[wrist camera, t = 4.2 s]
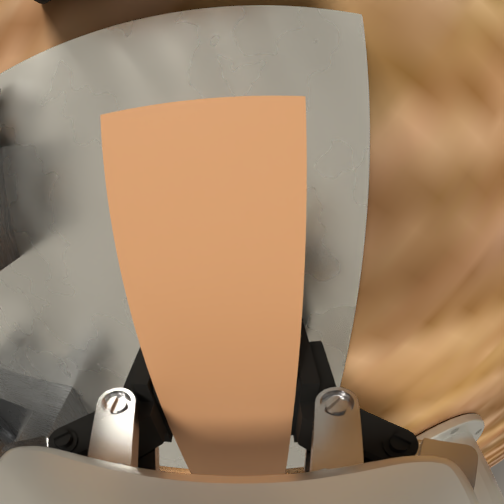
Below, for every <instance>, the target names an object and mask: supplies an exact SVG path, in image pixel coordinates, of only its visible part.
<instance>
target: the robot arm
mask: <svg viewBox="0 0 504 504" xmlns="http://www.w3.org/2000/svg"><path fill="white" fill-rule="evenodd" d="M484 426H485V425H484V421H483V420H482V418H481V417H480V415H478V414H465V415H461V416H458V417H455V418H453V419H450V420H448V421H446V422H443V423H441V424H439V425H437V426H435V427H433V428H431V429H429V430H427V431H425V432H424V433H422V434H420V435H418V436H415V435H414V434H413V433H412V432H410V431H409V430H407V429H404V428H402V427H400V426H397V425H395V424H393V423H390V422H388V421H386V420H384V419H381V418H379V417H377V416H375V415H373V414H370V413H368V412H366V411H364V410H362V409H360V408H359V401H358V398H357V396H356V395H355V394H354V393H353V392H351V391H350V390H348V389H345V388H341V387H336V384H335V381H334V377H333V374H332V371H331V368H330V365H329V362H328V359H327V356H326V352H325V349H324V346H323V344H322V342H321V341H311V342H309V340H308V336H307V333H306V329H305V325H304V322H303V318H302V323H301V337H300V349H299V361H298V373H297V383H296V393H295V403H294V412H293V420H292V429H291V435H293V438H294V443H295V442H298V445H300V446H302V447H303V448H305V461H304V472H303V473H294V474H281V475H263V476H214V475H196V474H184V473H174V472H165V471H160V466H159V446H160V445H162V444H163V443H164V442H172V437H173V434H172V431H171V429H170V427H169V424H168V422H167V419H166V417H165V414H164V412H163V409H162V407H161V404H160V402H159V399H158V396H157V394H156V391H155V388H154V386H153V383H152V380H151V377H150V374H149V371H148V368H147V365H146V362H145V359H144V356H143V353H142V350H141V347H140V348H139V351H138V353H137V355H136V358H135V360H134V362H133V365H132V367H131V369H130V372H129V374H128V377H127V379H126V381H125V384H124V386H123V388H112V389H110V390H107V391H106V392H104V393H103V394H102V395H101V396H100V397H99V399H98V402H97V406H96V411H94V412H92V413H90V414H88V415H86V416H83V417H81V418H79V419H77V420H75V421H73V422H71V423H68V424H66V425H64V426H62V427H60V428H58V429H56V430H55V431H53V433H52V434H51V435H50V437H49V438H47V437H46V436H41V437H36V438H32V439H27V440H22V441H17V442H11V443H8V444H6V445H5V446H4V447H3V449H2V451H1V458H0V504H504V497H503V495H502V493H501V491H500V488H499V486H498V484H497V482H496V480H495V478H494V476H493V474H492V472H491V469H490V467H489V465H488V463H487V461H486V459H485V458H484V456H483V454H482V452H481V450H480V448H479V446H478V444H477V442H476V441H477V440H478V438H479V437H480V435H481V434H482V432H483V429H484Z"/></svg>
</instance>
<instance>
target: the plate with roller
mask: <svg viewBox="0 0 504 504" xmlns="http://www.w3.org/2000/svg"><path fill="white" fill-rule="evenodd" d="M236 96H305V98H306V138H307V202H306V244H305V270H304V290H303V307H302V318H303V322H304V325H305V329H306V333H307V336H308V340H309V342H311V341H321V342H322V344H323V346H324V349H325V352H326V356H327V359H328V362H329V365H330V368H331V371H332V374H333V377H334V381H335V384H336V387H340V384H341V379H342V375H343V371H344V366H345V362H346V357H347V352H348V347H349V342H350V337H351V332H352V326H353V321H354V315H355V309H356V303H357V296H358V289H359V282H360V275H361V267H362V259H363V250H364V241H365V230H366V218H367V205H368V188H369V162H370V107H369V83H368V67H367V55H366V44H365V34H364V26H363V18H362V15H361V14H356V13H350V12H344V11H337V10H329V9H321V8H311V7H298V6H276V5H247V6H225V7H213V8H203V9H194V10H186V11H180V12H173V13H167V14H162V15H157V16H152V17H147V18H142V19H138V20H134V21H130V22H126V23H122V24H118V25H115V26H111V27H108V28H105V29H101V30H98V31H95V32H92V33H89V34H86V35H83V36H80V37H78V38H75V39H72V40H70V41H67V42H65V43H62V44H60V45H57V46H55V47H53V48H50V49H48V50H46V51H43V52H41V53H39V54H37V55H35V56H33V57H31V58H29V59H27V60H25V61H23V62H21V63H19V64H17V65H15V66H13V67H11V68H10V69H8V70H6V71H4V72H2V73H1V74H0V458H1V451H2V449H3V447H4V446H5V445H6V444H8V443H11V442H17V441H22V440H27V439H32V438H36V437H41V436H46V437H47V438H49V437H50V435H51V434H52V433H53V431H55V430H56V429H58V428H60V427H62V426H64V425H66V424H68V423H71V422H73V421H75V420H77V419H79V418H81V417H83V416H86V415H88V414H90V413H92V412H94V411H96V406H97V402H98V399H99V397H100V396H101V395H102V394H103V393H104V392H106V391H107V390H110V389H112V388H123V386H124V384H125V381H126V379H127V377H128V374H129V372H130V369H131V367H132V365H133V362H134V360H135V358H136V355H137V353H138V351H139V348H140V343H139V340H138V337H137V333H136V330H135V327H134V323H133V319H132V316H131V312H130V308H129V304H128V301H127V297H126V292H125V288H124V284H123V280H122V275H121V271H120V266H119V262H118V257H117V252H116V247H115V241H114V236H113V230H112V224H111V218H110V212H109V205H108V198H107V190H106V182H105V173H104V163H103V152H102V138H101V120H100V115H102V114H106V113H111V112H116V111H121V110H126V109H131V108H137V107H143V106H149V105H155V104H162V103H169V102H177V101H186V100H195V99H206V98H219V97H236ZM304 461H305V448H303V447H302V446H300V445H298V442H295V443H294V438H293V435H291V437H290V445H289V452H288V459H287V466H286V469H287V468H298V467H304ZM159 466H167V467H176V468H187V469H189V468H188V466H187V464H186V462H185V460H184V458H183V456H182V454H181V452H180V449H179V447H178V445H177V443H176V441H175V438H174V436H173V437H172V442H164V443H163V444H162V445H160V446H159Z"/></svg>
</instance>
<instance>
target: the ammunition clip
mask: <svg viewBox="0 0 504 504" xmlns="http://www.w3.org/2000/svg"><path fill="white" fill-rule="evenodd" d="M35 1H36V2H38V3H40V4H45V3H47V2H49V1H51V0H35Z"/></svg>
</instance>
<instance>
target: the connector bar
mask: <svg viewBox="0 0 504 504" xmlns="http://www.w3.org/2000/svg"><path fill="white" fill-rule="evenodd" d="M100 120H101V138H102V152H103V163H104V173H105V182H106V190H107V198H108V205H109V212H110V218H111V224H112V230H113V236H114V241H115V247H116V252H117V257H118V262H119V266H120V271H121V275H122V280H123V284H124V288H125V292H126V297H127V301H128V304H129V308H130V312H131V316H132V319H133V323H134V327H135V330H136V333H137V337H138V340H139V343H140V347H141V350H142V353H143V356H144V359H145V362H146V365H147V368H148V371H149V374H150V377H151V380H152V383H153V386H154V388H155V391H156V394H157V396H158V399H159V402H160V404H161V407H162V409H163V412H164V414H165V417H166V419H167V422H168V424H169V427H170V429H171V431H172V434H173V436H174V438H175V441H176V443H177V445H178V447H179V449H180V452H181V454H182V456H183V458H184V460H185V462H186V464H187V466H188V468H189V470H190V472H191V474H196V475H214V476H263V475H281V474H285V473H286V466H287V459H288V452H289V445H290V437H291V429H292V420H293V412H294V403H295V393H296V383H297V373H298V361H299V349H300V337H301V323H302V307H303V290H304V270H305V244H306V202H307V138H306V98H305V96H236V97H219V98H206V99H195V100H186V101H177V102H169V103H162V104H155V105H149V106H143V107H137V108H131V109H126V110H121V111H116V112H111V113H106V114H102V115H100Z"/></svg>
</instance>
